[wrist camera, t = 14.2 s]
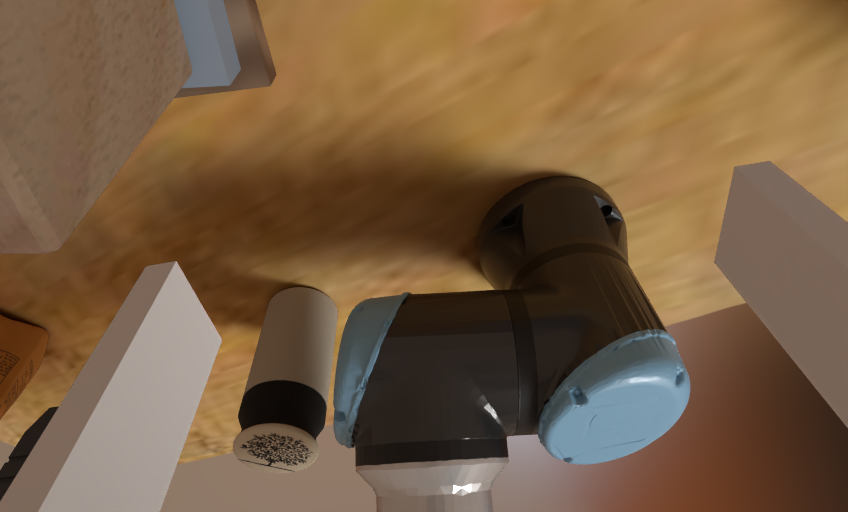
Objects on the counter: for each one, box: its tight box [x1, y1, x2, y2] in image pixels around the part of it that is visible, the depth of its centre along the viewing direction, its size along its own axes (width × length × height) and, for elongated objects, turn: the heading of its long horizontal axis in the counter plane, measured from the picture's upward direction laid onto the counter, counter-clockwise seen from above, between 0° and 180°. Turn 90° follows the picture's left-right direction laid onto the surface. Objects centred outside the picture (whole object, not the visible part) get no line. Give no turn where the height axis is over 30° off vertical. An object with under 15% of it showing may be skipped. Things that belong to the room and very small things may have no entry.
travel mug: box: [233, 287, 338, 473], centre depth 53 cm, size 8×8×18 cm
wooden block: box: [0, 0, 193, 254], centre depth 26 cm, size 10×10×20 cm
